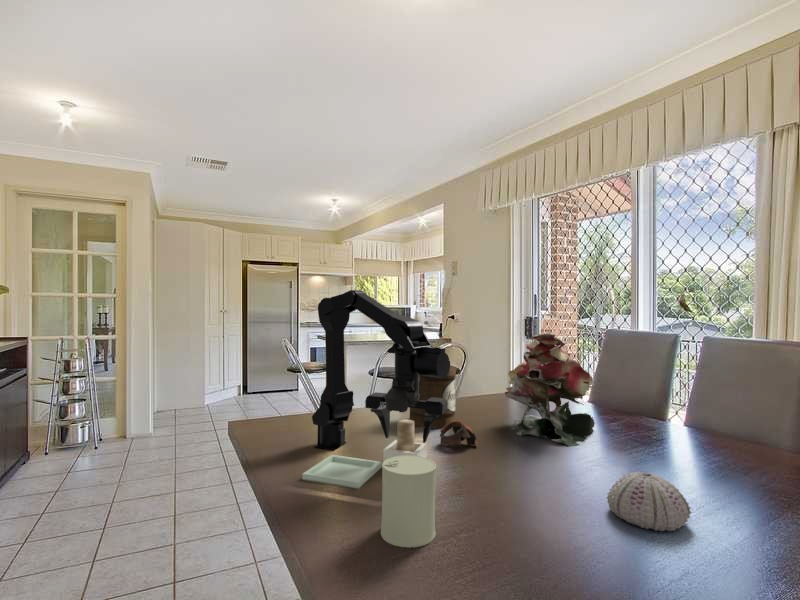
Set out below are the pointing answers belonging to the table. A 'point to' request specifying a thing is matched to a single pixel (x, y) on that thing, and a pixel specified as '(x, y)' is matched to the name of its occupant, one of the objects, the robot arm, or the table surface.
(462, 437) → the brown rounded hollow piece
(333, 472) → the tray
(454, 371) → the wooden container
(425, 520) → the can
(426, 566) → the table surface
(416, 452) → the white square tube
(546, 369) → the rose bouquet
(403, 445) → the dowel
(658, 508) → the sea urchin shell
